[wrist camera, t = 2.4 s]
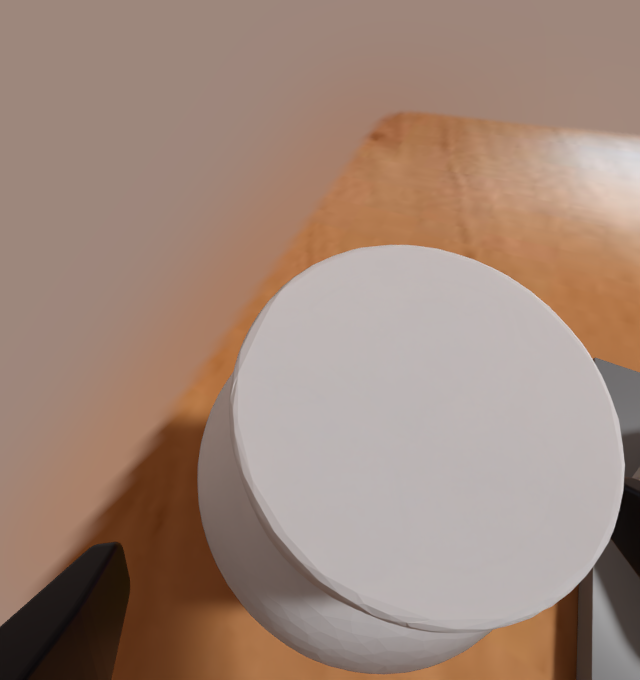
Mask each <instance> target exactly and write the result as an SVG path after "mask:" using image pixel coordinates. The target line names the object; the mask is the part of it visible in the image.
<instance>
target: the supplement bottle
mask: <svg viewBox="0 0 640 680" xmlns="http://www.w3.org/2000/svg"><path fill="white" fill-rule="evenodd" d="M624 471H625V462H624V453H623V444H622V438H621V431H620V424H619V419H618V416H617V413H616V410H615V407H614V404H613V401H612V399H611V396H610V394H609V391H608V389H607V387H606V384H605V382H604V379H603V377H602V375H601V373H600V372H599V370H598V368H597V366H596V364H595V363H594V361H593V359H592V358H591V356H590V354H589V353H588V351H587V350H586V348H585V347H584V345H583V344H582V343H581V341H580V340H579V339H578V338H577V337H576V335H575V334H574V333H573V332H572V330H571V329H570V328H569V327H568V326H567V325H566V324H565V323H564V322H563V321H562V320H561V318H560V317H559V316H558V315H557V314H556V313H555V312H554V311H553V310H552V309H551V308H550V307H549V306H548V305H546V304H545V303H544V302H543V301H542V300H541V299H539V298H538V297H537V296H536V295H535V294H533V293H532V292H531V291H530V290H528V289H527V288H525V287H524V286H522V285H521V284H519V283H518V282H516V281H515V280H513V279H512V278H510V277H509V276H507V275H505V274H503V273H501V272H499V271H498V270H496V269H494V268H492V267H489V266H487V265H485V264H483V263H481V262H478V261H476V260H473V259H470V258H467V257H464V256H461V255H458V254H455V253H451V252H448V251H444V250H440V249H435V248H428V247H422V246H411V245H385V246H375V247H365V248H358V249H354V250H351V251H347V252H344V253H341V254H338V255H335V256H332V257H330V258H328V259H325V260H323V261H321V262H319V263H316V264H314V265H313V266H311V267H309V268H307V269H306V270H304V271H303V272H301V273H300V274H298V275H297V276H295V277H294V278H292V279H291V280H290V281H289V282H287V283H286V284H285V285H284V286H283V287H282V288H281V289H280V290H279V291H278V292H277V293H276V294H275V295H274V296H273V297H272V298H271V299H270V300H269V301H268V303H267V304H266V305H265V307H264V308H263V309H262V310H261V312H260V313H259V314H258V316H257V317H256V319H255V321H254V322H253V324H252V326H251V327H250V329H249V331H248V333H247V335H246V337H245V339H244V341H243V344H242V346H241V349H240V351H239V354H238V357H237V361H236V364H235V368H234V372H233V373H232V375H231V376H230V378H229V379H228V380H227V382H226V384H225V385H224V387H223V388H222V390H221V391H220V393H219V395H218V397H217V399H216V401H215V403H214V405H213V407H212V409H211V412H210V415H209V418H208V420H207V423H206V427H205V430H204V434H203V438H202V442H201V447H200V453H199V460H198V477H197V478H198V500H199V509H200V514H201V519H202V524H203V528H204V531H205V535H206V539H207V542H208V544H209V547H210V550H211V553H212V555H213V557H214V560H215V562H216V564H217V566H218V568H219V570H220V572H221V574H222V575H223V577H224V579H225V581H226V583H227V584H228V586H229V587H230V589H231V590H232V591H233V593H234V594H235V595H236V597H237V598H238V600H239V601H240V602H241V604H242V605H243V606H244V607H245V609H246V610H247V611H248V612H249V614H250V615H251V616H252V617H253V618H254V619H255V620H256V621H257V622H258V623H260V624H261V625H262V626H263V627H264V628H265V629H266V630H267V631H269V632H270V633H271V634H272V635H274V636H275V637H276V638H277V639H279V640H280V641H282V642H283V643H285V644H286V645H287V646H289V647H291V648H292V649H294V650H295V651H297V652H299V653H300V654H302V655H304V656H306V657H308V658H310V659H313V660H315V661H317V662H320V663H323V664H325V665H328V666H331V667H336V668H340V669H344V670H348V671H353V672H360V673H368V674H393V673H406V672H411V671H415V670H420V669H424V668H428V667H431V666H434V665H437V664H439V663H442V662H444V661H446V660H449V659H451V658H453V657H455V656H456V655H458V654H460V653H462V652H464V651H466V650H467V649H469V648H470V647H472V646H473V645H474V644H476V643H477V642H478V641H479V640H481V639H482V638H483V637H485V636H486V635H487V634H488V633H490V632H491V631H492V630H493V629H497V628H501V627H505V626H509V625H512V624H515V623H518V622H521V621H524V620H527V619H530V618H532V617H534V616H535V615H537V614H538V613H540V612H541V611H543V610H545V609H547V608H549V607H551V606H553V605H554V604H555V603H557V602H558V601H559V600H561V599H562V598H563V597H565V596H566V595H567V594H569V593H570V592H571V591H572V590H573V589H574V588H575V587H576V586H577V585H578V584H579V583H580V582H581V581H582V580H583V579H584V578H585V576H586V575H587V574H588V573H589V571H590V570H591V569H592V567H593V566H594V565H595V563H596V561H597V560H598V558H599V557H600V555H601V554H602V552H603V550H604V549H605V547H606V546H607V544H608V542H609V540H610V538H611V535H612V533H613V530H614V528H615V524H616V521H617V517H618V513H619V509H620V504H621V499H622V495H623V488H624Z"/></svg>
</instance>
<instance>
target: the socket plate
mask: <svg viewBox="0 0 640 680" xmlns="http://www.w3.org/2000/svg"><path fill="white" fill-rule="evenodd" d="M593 361H594V363H595V364H596V366H597V368H598V370H599V372H600V373H601V375H602V377H603V379H604V382H605V384H606V387H607V389H608V391H609V394H610V396H611V399H612V401H613V404H614V407H615V410H616V413H617V416H618V419H619V424H620V431H621V438H622V444H623V453H624V462H625V471H624V477H631V478H635V479H637V480H640V373H639V372H636V371H633V370H630V369H627V368H624V367H621V366H618V365H615V364H612V363H610V362H607V361H604V360H601V359H598V358H594V359H593ZM576 680H640V578H639V577H638V575H637V574H636V573H635V571H634V570H633V569H632V567H631V566H630V565H629V563H628V562H627V560H626V559H625V558H624V556H623V555H622V554H621V552H620V551H619V550H618V548H617V547H616V546H615V544H614V543H613V541H612V540H611V539H610V540H609V542H608V544H607V546H606V547H605V549H604V550H603V552H602V554H601V555H600V557H599V558H598V560H597V561H596V563H595V565H594V566H593V567H592V569H591V570H590V571H589V573H588V574H587V575H586V576H585V578H584V579H583V580H582V581H581V582H580V583H579V596H578V636H577V676H576Z"/></svg>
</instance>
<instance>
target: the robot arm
mask: <svg viewBox="0 0 640 680" xmlns="http://www.w3.org/2000/svg"><path fill="white" fill-rule="evenodd" d="M610 539H611V540H612V541H613V543H614V544H615V546H616V547H617V548H618V550H619V551H620V552H621V554H622V555H623V556H624V558H625V559H626V560H627V562H628V563H629V565H630V566H631V567H632V569H633V570H634V571H635V573H636V574H637V575H638V577H639V578H640V480H637V479H635V478H631V477H624V488H623V495H622V499H621V504H620V509H619V513H618V517H617V521H616V524H615V528H614V530H613V533H612V535H611V538H610ZM129 593H130V578H129V574H128V569H127V564H126V560H125V555H124V550H123V547H122V545H121V544H120V543H118V542H111V543H103V544H97V545H94V546H92V547H91V548H89V549H88V550H87V551H86V552H85V553H83V554H82V555H81V556H80V557H79V558H78V559H77V560H76V561H74V562H73V563H72V564H71V565H70V566H69V567H68V568H66V569H65V570H64V571H63V572H62V573H61V574H60V575H58V576H57V577H56V578H55V579H54V580H53V581H52V582H51V583H49V584H48V585H47V586H46V587H45V588H44V589H43V590H41V591H40V592H39V593H38V594H37V595H36V596H35V597H33V598H32V599H31V600H30V601H29V602H28V603H27V604H26V605H24V606H23V607H22V608H21V609H20V610H19V611H18V612H17V613H15V614H14V615H13V616H12V617H11V618H10V619H9V620H7V621H6V622H5V623H4V624H3V625H2V626H1V627H0V680H111V678H112V673H113V669H114V664H115V659H116V655H117V650H118V645H119V641H120V636H121V631H122V627H123V622H124V617H125V613H126V608H127V604H128V599H129Z"/></svg>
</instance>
